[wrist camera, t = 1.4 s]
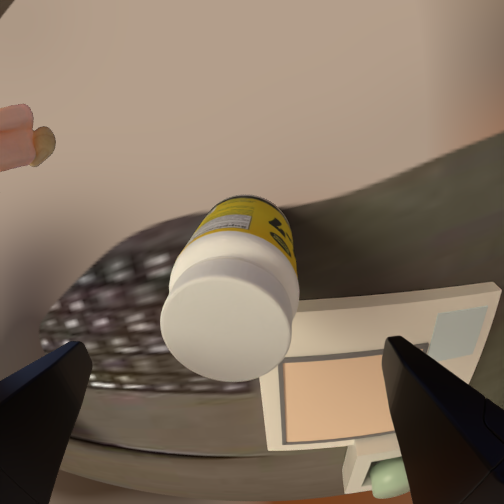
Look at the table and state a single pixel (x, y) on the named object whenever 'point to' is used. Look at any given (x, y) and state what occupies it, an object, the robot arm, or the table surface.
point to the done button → (389, 478)
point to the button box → (366, 460)
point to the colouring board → (366, 360)
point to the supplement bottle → (233, 292)
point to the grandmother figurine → (22, 139)
